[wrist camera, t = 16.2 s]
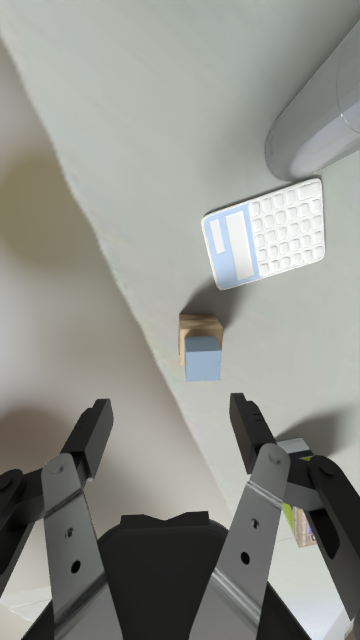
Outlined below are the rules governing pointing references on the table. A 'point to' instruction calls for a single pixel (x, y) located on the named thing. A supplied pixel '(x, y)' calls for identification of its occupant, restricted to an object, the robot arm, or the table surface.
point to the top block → (199, 332)
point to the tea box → (292, 513)
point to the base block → (195, 317)
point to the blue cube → (202, 358)
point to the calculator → (266, 234)
